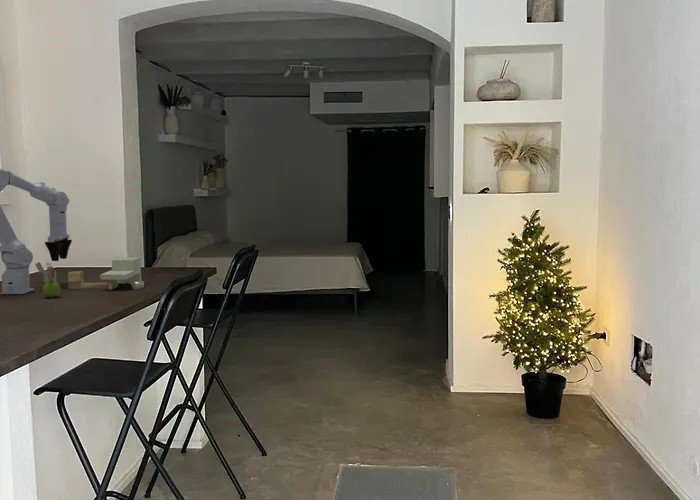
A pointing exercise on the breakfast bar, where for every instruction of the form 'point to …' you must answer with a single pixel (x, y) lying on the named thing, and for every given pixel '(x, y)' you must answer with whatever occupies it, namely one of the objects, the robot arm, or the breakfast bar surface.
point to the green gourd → (51, 284)
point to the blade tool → (77, 283)
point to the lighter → (44, 272)
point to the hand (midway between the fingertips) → (59, 259)
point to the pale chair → (124, 270)
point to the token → (137, 284)
